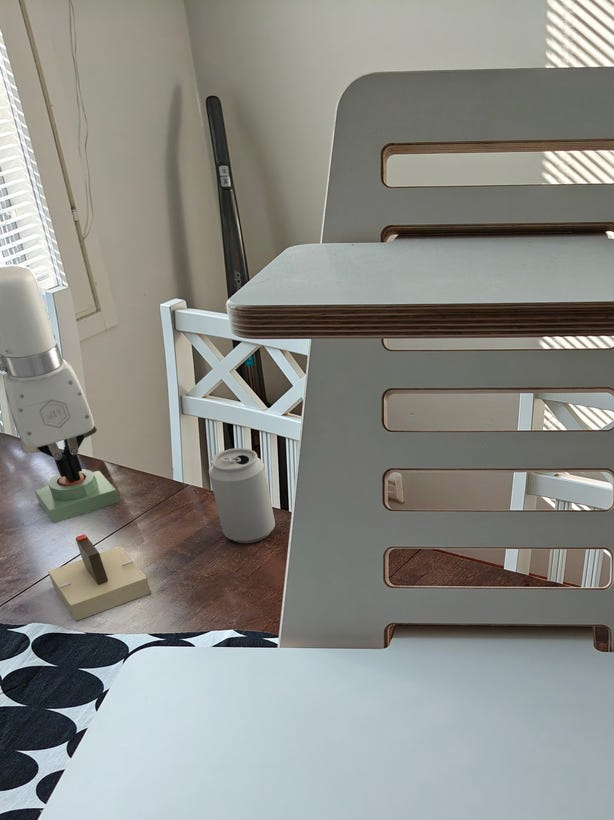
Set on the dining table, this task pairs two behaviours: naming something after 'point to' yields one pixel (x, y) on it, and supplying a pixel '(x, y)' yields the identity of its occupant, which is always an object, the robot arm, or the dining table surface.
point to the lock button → (65, 482)
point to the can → (242, 495)
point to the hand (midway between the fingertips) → (72, 477)
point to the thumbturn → (91, 559)
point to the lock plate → (94, 598)
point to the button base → (76, 496)
